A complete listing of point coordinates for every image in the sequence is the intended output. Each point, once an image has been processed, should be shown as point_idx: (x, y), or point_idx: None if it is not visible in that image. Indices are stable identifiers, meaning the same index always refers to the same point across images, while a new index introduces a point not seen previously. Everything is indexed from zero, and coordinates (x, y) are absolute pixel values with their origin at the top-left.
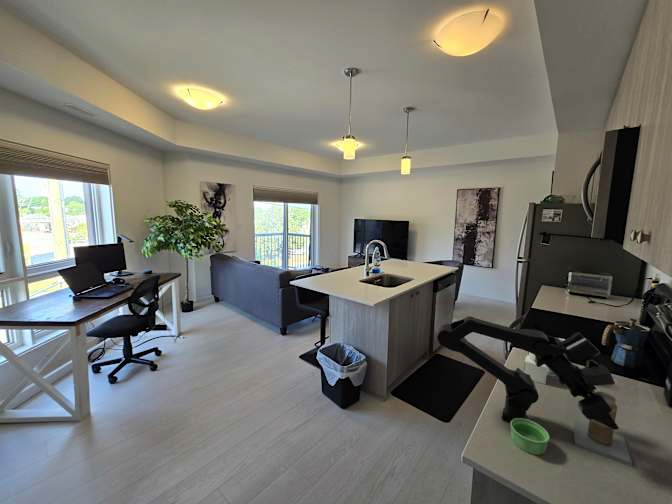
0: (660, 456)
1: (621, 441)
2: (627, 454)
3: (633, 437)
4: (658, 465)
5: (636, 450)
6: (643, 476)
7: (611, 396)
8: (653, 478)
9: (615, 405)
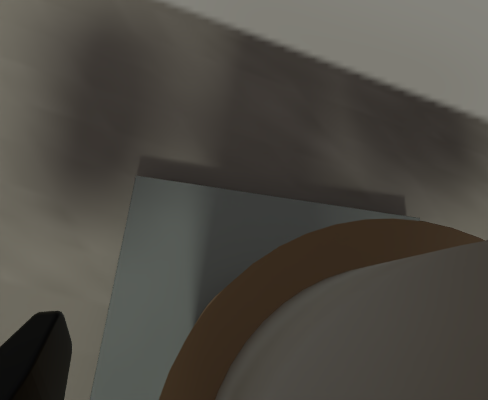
0: (212, 41)
1: (211, 206)
2: (346, 215)
3: (80, 111)
4: (307, 82)
5: (224, 142)
6: (457, 189)
7: (439, 345)
8: (441, 147)
9: (386, 241)
